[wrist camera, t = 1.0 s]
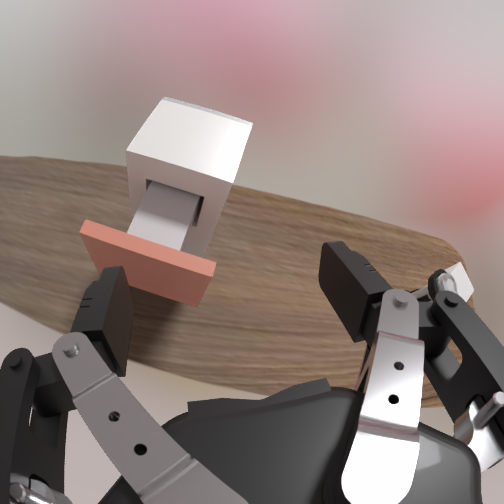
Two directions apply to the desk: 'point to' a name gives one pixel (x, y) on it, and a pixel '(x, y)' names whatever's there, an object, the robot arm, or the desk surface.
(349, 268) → the robot arm
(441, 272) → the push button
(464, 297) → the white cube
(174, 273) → the plug
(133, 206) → the socket block
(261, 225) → the desk surface
